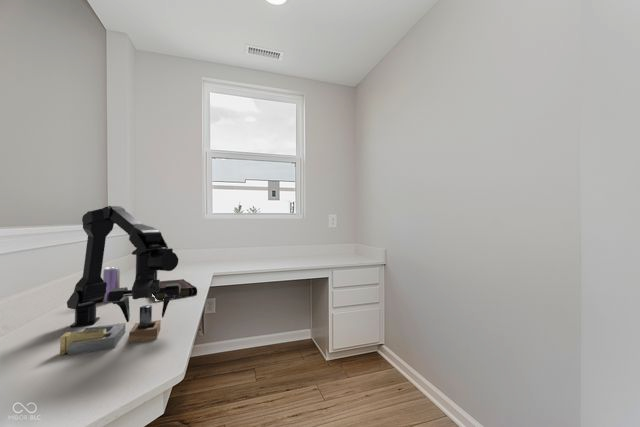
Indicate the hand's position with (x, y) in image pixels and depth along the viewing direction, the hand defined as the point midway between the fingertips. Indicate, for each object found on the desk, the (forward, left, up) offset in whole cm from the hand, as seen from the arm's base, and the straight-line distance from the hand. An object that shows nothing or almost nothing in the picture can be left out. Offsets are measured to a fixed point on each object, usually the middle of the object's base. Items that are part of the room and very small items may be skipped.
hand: (145, 319), depth 83 cm
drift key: (+4, -14, -5) cm, 15 cm away
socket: (0, -11, -5) cm, 13 cm away
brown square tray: (0, 0, -5) cm, 5 cm away
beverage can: (-52, -21, -5) cm, 56 cm away
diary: (-56, +2, -6) cm, 56 cm away
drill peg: (0, 0, -5) cm, 5 cm away
